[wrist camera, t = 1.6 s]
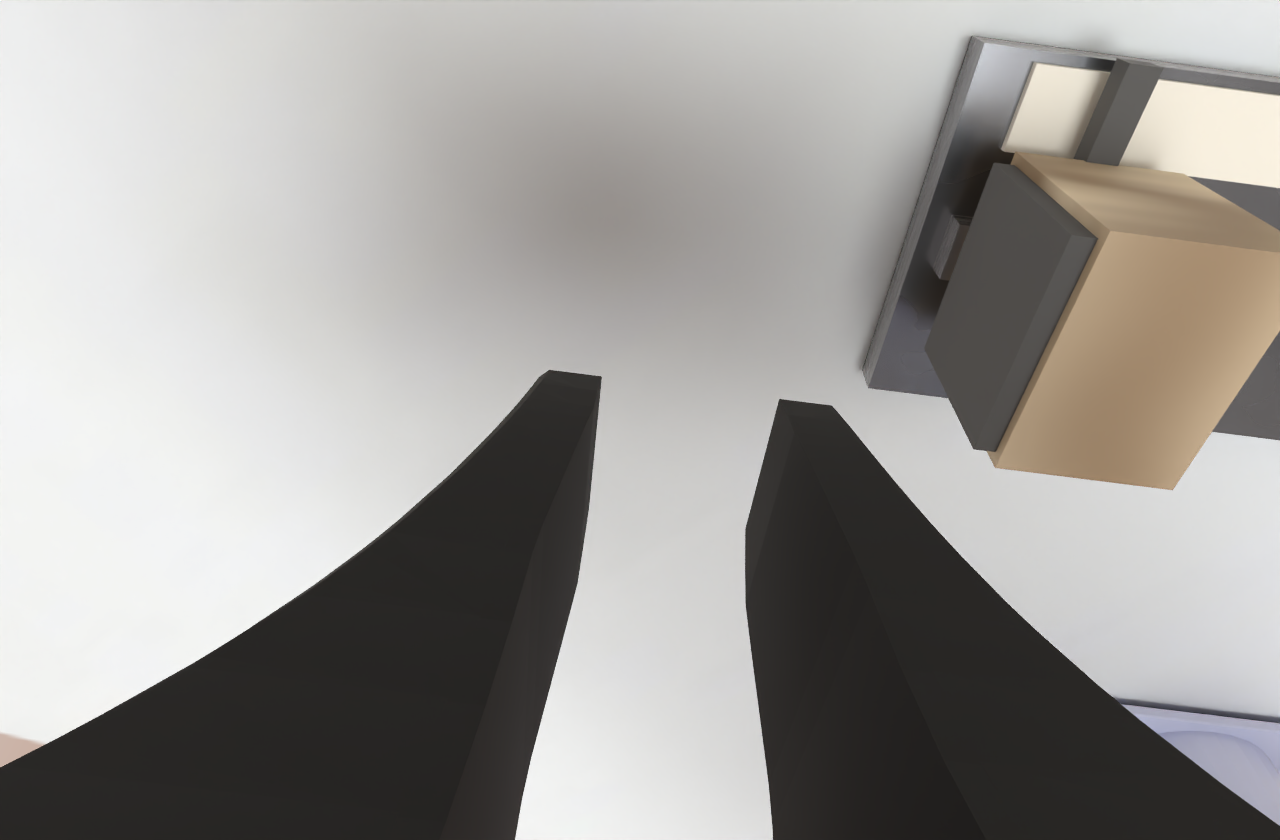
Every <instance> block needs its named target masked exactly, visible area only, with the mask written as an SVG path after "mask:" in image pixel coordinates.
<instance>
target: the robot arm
mask: <svg viewBox="0 0 1280 840" xmlns="http://www.w3.org/2000/svg"><path fill="white" fill-rule="evenodd" d="M601 379H602V377H601V376H593V375H585V374H577V373H569V372H561V371H553V370H549V371H547V372H546V373H544V374H543V375H542V376H540V377H539V378H538V379H537V381H536V382H535V383H534V385H533V386H532V387H531V388H530V390H529V391H528V392H527V393H526V394H525V396H524V397H523V398H522V399H521V400H520V402H519V403H518V404H517V405H516V406H515V407H514V409H513V410H512V411H511V412H510V413H509V414H508V415H507V416H506V417H505V419H504V420H503V421H502V422H501V423H500V424H499V425H498V426H497V427H496V428H495V430H494V431H493V432H492V433H491V434H490V435H489V436H488V437H487V438H486V439H485V440H484V441H483V442H482V443H481V444H480V445H479V446H478V447H477V448H476V449H475V450H474V451H473V452H472V453H471V454H470V455H469V456H468V457H467V458H466V459H465V460H464V461H463V462H462V463H461V464H460V465H459V466H458V467H457V468H456V469H455V470H454V471H453V472H452V473H451V474H450V475H449V476H448V477H447V478H446V479H444V480H443V481H442V482H441V483H440V484H439V485H438V486H437V487H435V488H434V489H433V490H432V491H431V492H430V493H429V494H427V495H426V496H425V497H424V498H423V499H422V500H421V501H420V502H418V503H417V504H416V505H415V506H414V507H413V508H412V509H411V510H409V511H408V512H407V513H406V514H405V515H404V516H403V517H402V518H400V519H399V520H398V521H397V522H396V523H395V524H393V525H392V526H391V527H390V528H388V529H387V530H386V531H385V532H383V533H382V534H381V535H380V536H379V537H377V538H376V539H375V540H374V541H372V542H371V543H370V544H369V545H367V546H366V547H365V548H363V549H362V550H361V551H359V552H358V553H357V554H356V555H354V556H353V557H352V558H350V559H349V560H348V561H346V562H345V563H343V564H342V565H341V566H339V567H338V568H337V569H335V570H334V571H333V572H331V573H330V574H329V575H327V576H326V577H325V578H323V579H322V580H320V581H319V582H318V583H316V584H315V585H313V586H312V587H311V588H309V589H308V590H306V591H305V592H303V593H302V594H300V595H299V596H297V597H296V598H294V599H293V600H291V601H290V602H288V603H287V604H285V605H284V606H282V607H281V608H279V609H278V610H276V611H275V612H273V613H272V614H270V615H269V616H267V617H266V618H264V619H263V620H261V621H260V622H258V623H257V624H255V625H254V626H252V627H251V628H249V629H248V630H246V631H245V632H243V633H242V634H240V635H238V636H237V637H235V638H234V639H232V640H230V641H229V642H227V643H226V644H224V645H222V646H221V647H219V648H218V649H216V650H214V651H213V652H211V653H209V654H208V655H206V656H204V657H203V658H201V659H199V660H198V661H196V662H195V663H193V664H191V665H189V666H188V667H186V668H184V669H182V670H180V671H179V672H177V673H175V674H173V675H172V676H170V677H168V678H166V679H164V680H163V681H161V682H159V683H157V684H156V685H154V686H152V687H150V688H148V689H147V690H145V691H143V692H141V693H140V694H138V695H136V696H134V697H132V698H131V699H129V700H127V701H125V702H123V703H122V704H120V705H118V706H116V707H115V708H113V709H111V710H109V711H107V712H106V713H104V714H102V715H100V716H98V717H97V718H95V719H93V720H91V721H89V722H87V723H85V724H83V725H82V726H80V727H78V728H76V729H74V730H72V731H70V732H69V733H67V734H65V735H63V736H61V737H59V738H57V739H55V740H53V741H51V742H50V743H48V744H46V745H44V746H42V747H40V748H38V749H36V750H34V751H32V752H30V753H28V754H26V755H24V756H22V757H21V758H18V759H16V760H14V761H12V762H10V763H8V764H6V765H4V766H3V767H0V840H515V836H516V830H517V824H518V818H519V813H520V807H521V801H522V796H523V792H524V787H525V783H526V778H527V774H528V769H529V765H530V760H531V756H532V752H533V749H534V745H535V741H536V737H537V734H538V730H539V726H540V722H541V719H542V715H543V711H544V707H545V704H546V700H547V696H548V692H549V689H550V685H551V681H552V677H553V674H554V670H555V666H556V662H557V659H558V655H559V651H560V647H561V644H562V640H563V636H564V632H565V628H566V625H567V621H568V617H569V613H570V610H571V606H572V602H573V598H574V594H575V590H576V587H577V582H578V576H579V570H580V563H581V557H582V550H583V544H584V537H585V530H586V524H587V517H588V510H589V501H590V491H591V480H592V470H593V460H594V450H595V440H596V429H597V419H598V409H599V399H600V389H601ZM745 585H746V611H747V619H748V627H749V635H750V643H751V651H752V659H753V667H754V675H755V682H756V690H757V698H758V705H759V713H760V721H761V728H762V736H763V744H764V751H765V759H766V766H767V774H768V782H769V792H770V803H771V814H772V826H773V840H1280V723H1273V722H1264V721H1256V720H1248V719H1240V718H1231V717H1223V716H1215V715H1206V714H1198V713H1190V712H1182V711H1173V710H1165V709H1157V708H1149V707H1140V706H1132V705H1124V704H1120V703H1119V702H1118V701H1116V700H1115V699H1114V698H1113V697H1112V696H1110V695H1109V694H1108V693H1107V692H1105V691H1104V690H1103V689H1102V688H1101V687H1100V686H1098V685H1097V684H1096V683H1095V682H1094V681H1093V680H1091V679H1090V678H1089V677H1088V676H1087V675H1086V674H1085V673H1084V672H1082V671H1081V670H1080V669H1079V668H1078V667H1077V666H1076V665H1075V664H1073V663H1072V662H1071V661H1070V660H1069V659H1068V658H1067V657H1066V656H1064V655H1063V654H1062V653H1061V652H1060V651H1059V650H1058V649H1056V648H1055V647H1054V646H1053V645H1052V644H1051V643H1050V642H1049V641H1047V640H1046V639H1045V638H1044V637H1043V636H1042V635H1041V634H1040V633H1038V632H1037V631H1036V630H1035V629H1034V628H1033V627H1032V626H1031V625H1030V624H1029V623H1028V622H1027V621H1026V620H1025V619H1023V618H1022V617H1021V616H1020V615H1019V614H1018V613H1017V612H1016V611H1015V610H1014V609H1013V608H1012V607H1011V606H1010V605H1009V604H1008V603H1007V602H1006V601H1005V600H1004V599H1003V598H1002V597H1001V596H1000V595H999V594H998V593H997V592H996V591H995V590H994V589H993V588H992V587H991V586H990V585H989V584H988V583H987V582H986V581H985V580H984V579H983V578H982V577H981V576H980V575H979V574H978V573H977V572H976V571H975V570H974V569H973V568H972V567H971V566H970V565H969V564H968V563H967V562H966V561H965V560H964V559H963V558H962V557H961V556H960V554H959V553H958V552H957V551H956V550H955V549H954V548H953V547H952V546H951V545H950V544H949V543H948V541H947V540H946V539H945V538H944V537H943V536H942V535H941V534H940V533H939V532H938V531H937V530H936V528H935V527H934V526H933V525H932V524H931V523H930V522H929V521H928V519H927V518H926V517H925V516H924V515H923V514H922V513H921V511H920V510H919V509H918V508H917V507H916V506H915V505H914V503H913V502H912V501H911V500H910V499H909V498H908V497H907V495H906V494H905V493H904V492H903V491H902V489H901V488H900V487H899V486H898V485H897V484H896V482H895V481H894V480H893V479H892V478H891V476H890V475H889V474H888V473H887V472H886V470H885V469H884V468H883V467H882V466H881V464H880V463H879V462H878V461H877V459H876V458H875V457H874V456H873V455H872V453H871V452H870V451H869V450H868V448H867V447H866V446H865V445H864V444H863V442H862V441H861V440H860V439H859V437H858V436H857V435H856V434H855V432H854V431H853V430H852V429H851V428H850V426H849V425H848V424H847V423H846V422H845V420H844V419H843V418H842V417H841V416H840V414H839V413H838V412H837V411H836V410H835V409H834V408H833V407H832V406H830V405H822V404H814V403H806V402H798V401H790V400H782V399H779V403H778V407H777V410H776V414H775V418H774V422H773V426H772V430H771V433H770V437H769V441H768V445H767V449H766V453H765V456H764V460H763V464H762V468H761V472H760V476H759V479H758V483H757V487H756V491H755V495H754V499H753V502H752V506H751V510H750V514H749V518H748V521H747V525H746V532H745Z"/></svg>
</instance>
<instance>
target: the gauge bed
mask: <svg viewBox="0 0 1280 840" xmlns="http://www.w3.org/2000/svg"><path fill="white" fill-rule="evenodd" d="M1117 58H1121V59H1128V60H1135V61H1143V62H1150V63H1153V64H1155V65H1158V66H1160V67H1163V68H1164V69H1163V71H1162V73H1161V75H1160V78H1159V80H1158V82H1157V84H1156V86H1155V88H1154V90H1153V92H1152V95H1151V97H1150V99H1149V101H1148V103H1147V105H1146V107H1145V110H1144V112H1143V114H1142V116H1141V118H1140V120H1139V122H1138V125H1137V127H1136V129H1135V131H1134V133H1133V135H1132V137H1131V139H1130V142H1129V144H1128V146H1127V148H1126V150H1125V152H1124V154H1123V157H1122V159H1121V161H1120V163H1119V165H1122V166H1130V167H1137V168H1145V169H1152V170H1160V171H1167V172H1175V173H1183V174H1185V175H1187V176H1188V177H1190V178H1192V179H1194V180H1195V181H1197V182H1199V183H1200V184H1202V185H1204V186H1205V187H1207V188H1209V189H1210V190H1212V191H1214V192H1215V193H1217V194H1219V195H1220V196H1222V197H1224V198H1226V199H1227V200H1229V201H1231V202H1232V203H1234V204H1236V205H1237V206H1239V207H1241V208H1242V209H1244V210H1246V211H1247V212H1249V213H1251V214H1252V215H1254V216H1256V217H1257V218H1259V219H1261V220H1263V221H1264V222H1266V223H1268V224H1269V225H1271V226H1273V227H1274V228H1276V229H1278V230H1279V231H1280V77H1273V76H1265V75H1258V74H1250V73H1243V72H1236V71H1228V70H1221V69H1213V68H1206V67H1199V66H1191V65H1184V64H1176V63H1169V62H1162V61H1154V60H1147V59H1139V58H1132V57H1125V56H1117V55H1110V54H1102V53H1095V52H1088V51H1080V50H1073V49H1065V48H1058V47H1050V46H1043V45H1036V44H1028V43H1021V42H1013V41H1006V40H999V39H991V38H984V37H976V36H972V37H971V40H970V43H969V46H968V49H967V53H966V56H965V59H964V62H963V65H962V68H961V71H960V74H959V77H958V80H957V83H956V86H955V89H954V92H953V95H952V98H951V101H950V104H949V107H948V110H947V114H946V117H945V120H944V123H943V126H942V129H941V132H940V135H939V138H938V141H937V144H936V147H935V150H934V153H933V156H932V159H931V162H930V165H929V168H928V172H927V175H926V178H925V181H924V184H923V187H922V190H921V193H920V196H919V199H918V202H917V205H916V208H915V211H914V214H913V217H912V220H911V223H910V226H909V230H908V233H907V236H906V239H905V242H904V245H903V248H902V251H901V254H900V257H899V260H898V263H897V266H896V269H895V272H894V275H893V278H892V281H891V284H890V288H889V291H888V294H887V297H886V300H885V303H884V306H883V309H882V312H881V315H880V318H879V321H878V324H877V327H876V330H875V333H874V336H873V339H872V342H871V346H870V349H869V352H868V355H867V358H866V361H865V364H864V367H863V370H862V371H863V374H864V377H865V380H866V383H867V386H868V388H873V389H881V390H889V391H897V392H904V393H912V394H920V395H928V396H936V397H944V398H948V396H947V394H946V392H945V390H944V388H943V386H942V384H941V382H940V380H939V378H938V376H937V374H936V372H935V370H934V368H933V366H932V364H931V362H930V360H929V358H928V356H927V354H926V352H925V350H924V347H925V345H926V342H927V339H928V337H929V334H930V331H931V329H932V326H933V323H934V321H935V318H936V315H937V313H938V310H939V307H940V305H941V302H942V299H943V297H944V294H945V291H946V289H947V286H948V283H949V281H950V278H951V275H952V273H953V270H954V267H955V265H956V262H957V259H958V257H959V254H960V251H961V249H962V246H963V243H964V241H965V238H966V235H967V233H968V230H969V227H970V225H971V222H972V219H973V217H974V214H975V211H976V209H977V206H978V203H979V201H980V198H981V195H982V193H983V190H984V187H985V185H986V182H987V179H988V177H989V174H990V171H991V169H992V166H993V163H1001V164H1009V165H1010V164H1011V162H1012V159H1013V157H1014V154H1015V151H1017V152H1024V153H1032V154H1039V155H1047V156H1054V157H1062V158H1069V159H1073V158H1074V156H1075V154H1076V152H1077V149H1078V147H1079V145H1080V142H1081V140H1082V138H1083V135H1084V133H1085V131H1086V128H1087V126H1088V124H1089V121H1090V119H1091V117H1092V115H1093V112H1094V110H1095V108H1096V105H1097V103H1098V101H1099V98H1100V96H1101V94H1102V91H1103V89H1104V87H1105V85H1106V82H1107V80H1108V78H1109V75H1110V73H1111V71H1112V68H1113V66H1114V64H1115V61H1116V59H1117ZM1212 432H1219V433H1227V434H1235V435H1243V436H1251V437H1258V438H1266V439H1274V440H1280V331H1279V333H1278V334H1277V336H1276V337H1275V339H1274V340H1273V341H1272V343H1271V344H1270V346H1269V347H1268V349H1267V350H1266V352H1265V353H1264V355H1263V356H1262V358H1261V359H1260V361H1259V362H1258V364H1257V365H1256V367H1255V368H1254V370H1253V371H1252V373H1251V374H1250V376H1249V377H1248V379H1247V380H1246V382H1245V383H1244V385H1243V386H1242V388H1241V389H1240V391H1239V392H1238V394H1237V395H1236V397H1235V398H1234V399H1233V401H1232V402H1231V404H1230V405H1229V407H1228V408H1227V410H1226V411H1225V413H1224V414H1223V416H1222V417H1221V419H1220V420H1219V422H1218V423H1217V425H1216V426H1215V428H1214V429H1213V431H1212Z"/></svg>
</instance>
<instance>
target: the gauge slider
mask: <svg viewBox="0 0 1280 840" xmlns="http://www.w3.org/2000/svg"><path fill="white" fill-rule="evenodd" d="M1163 69H1164V68H1163V67H1160V66H1158V65H1155V64H1153V63H1150V62H1143V61H1135V60H1128V59H1121V58H1117V59H1116V61H1115V64H1114V66H1113V68H1112V71H1111V73H1110V75H1109V78H1108V80H1107V82H1106V85H1105V87H1104V89H1103V91H1102V94H1101V96H1100V98H1099V101H1098V103H1097V105H1096V108H1095V110H1094V112H1093V115H1092V117H1091V119H1090V121H1089V124H1088V126H1087V128H1086V131H1085V133H1084V135H1083V138H1082V140H1081V142H1080V145H1079V147H1078V149H1077V152H1076V154H1075V156H1074V158H1073V159H1069V158H1062V157H1054V156H1047V155H1039V154H1032V153H1024V152H1017V151H1015V154H1014V157H1013V159H1012V162H1011V164H1010V165H1009V164H1001V163H993V166H992V169H991V171H990V174H989V177H988V179H987V182H986V185H985V187H984V190H983V193H982V195H981V198H980V201H979V203H978V206H977V209H976V211H975V214H974V217H973V219H972V222H971V225H970V227H969V230H968V233H967V235H966V238H965V241H964V243H963V246H962V249H961V251H960V254H959V257H958V259H957V262H956V265H955V267H954V270H953V273H952V275H951V278H950V281H949V283H948V286H947V289H946V291H945V294H944V297H943V299H942V302H941V305H940V307H939V310H938V313H937V315H936V318H935V321H934V323H933V326H932V329H931V331H930V334H929V337H928V339H927V342H926V345H925V347H924V350H925V352H926V354H927V356H928V358H929V360H930V362H931V364H932V366H933V368H934V370H935V372H936V374H937V376H938V378H939V380H940V382H941V384H942V386H943V388H944V390H945V392H946V394H947V396H948V398H949V400H950V402H951V404H952V406H953V408H954V410H955V412H956V414H957V417H958V419H959V421H960V423H961V425H962V427H963V429H964V431H965V433H966V435H967V437H968V439H969V441H970V443H971V445H972V447H973V449H976V450H984V451H987V453H988V455H989V457H990V459H991V461H992V463H993V465H994V467H995V468H1001V469H1009V470H1017V471H1025V472H1033V473H1041V474H1049V475H1057V476H1065V477H1073V478H1081V479H1089V480H1097V481H1105V482H1113V483H1120V484H1128V485H1136V486H1144V487H1152V488H1160V489H1168V490H1173V489H1174V487H1175V486H1176V484H1177V483H1178V481H1179V480H1180V478H1181V477H1182V475H1183V474H1184V472H1185V471H1186V469H1187V468H1188V466H1189V465H1190V463H1191V462H1192V460H1193V459H1194V457H1195V456H1196V455H1197V453H1198V452H1199V450H1200V449H1201V447H1202V446H1203V444H1204V443H1205V441H1206V440H1207V438H1208V437H1209V435H1210V434H1211V432H1212V431H1213V429H1214V428H1215V426H1216V425H1217V423H1218V422H1219V420H1220V419H1221V417H1222V416H1223V414H1224V413H1225V411H1226V410H1227V408H1228V407H1229V405H1230V404H1231V402H1232V401H1233V399H1234V398H1235V397H1236V395H1237V394H1238V392H1239V391H1240V389H1241V388H1242V386H1243V385H1244V383H1245V382H1246V380H1247V379H1248V377H1249V376H1250V374H1251V373H1252V371H1253V370H1254V368H1255V367H1256V365H1257V364H1258V362H1259V361H1260V359H1261V358H1262V356H1263V355H1264V353H1265V352H1266V350H1267V349H1268V347H1269V346H1270V344H1271V343H1272V341H1273V340H1274V339H1275V337H1276V336H1277V334H1278V333H1279V331H1280V231H1279V230H1278V229H1276V228H1274V227H1273V226H1271V225H1269V224H1268V223H1266V222H1264V221H1263V220H1261V219H1259V218H1257V217H1256V216H1254V215H1252V214H1251V213H1249V212H1247V211H1246V210H1244V209H1242V208H1241V207H1239V206H1237V205H1236V204H1234V203H1232V202H1231V201H1229V200H1227V199H1226V198H1224V197H1222V196H1220V195H1219V194H1217V193H1215V192H1214V191H1212V190H1210V189H1209V188H1207V187H1205V186H1204V185H1202V184H1200V183H1199V182H1197V181H1195V180H1194V179H1192V178H1190V177H1188V176H1187V175H1185V174H1183V173H1175V172H1167V171H1160V170H1152V169H1145V168H1137V167H1130V166H1122V165H1119V163H1120V161H1121V159H1122V157H1123V154H1124V152H1125V150H1126V148H1127V146H1128V144H1129V142H1130V139H1131V137H1132V135H1133V133H1134V131H1135V129H1136V127H1137V125H1138V122H1139V120H1140V118H1141V116H1142V114H1143V112H1144V110H1145V107H1146V105H1147V103H1148V101H1149V99H1150V97H1151V95H1152V92H1153V90H1154V88H1155V86H1156V84H1157V82H1158V80H1159V78H1160V75H1161V73H1162V71H1163Z"/></svg>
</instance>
